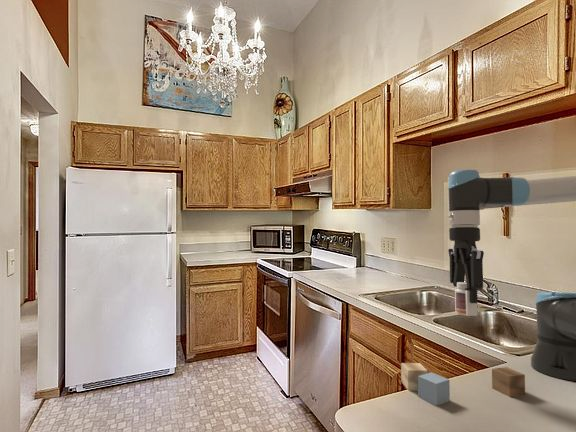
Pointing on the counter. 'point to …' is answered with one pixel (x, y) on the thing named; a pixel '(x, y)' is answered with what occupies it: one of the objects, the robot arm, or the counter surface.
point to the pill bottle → (461, 298)
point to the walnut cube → (508, 381)
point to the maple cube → (411, 374)
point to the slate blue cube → (433, 388)
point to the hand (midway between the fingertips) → (466, 312)
